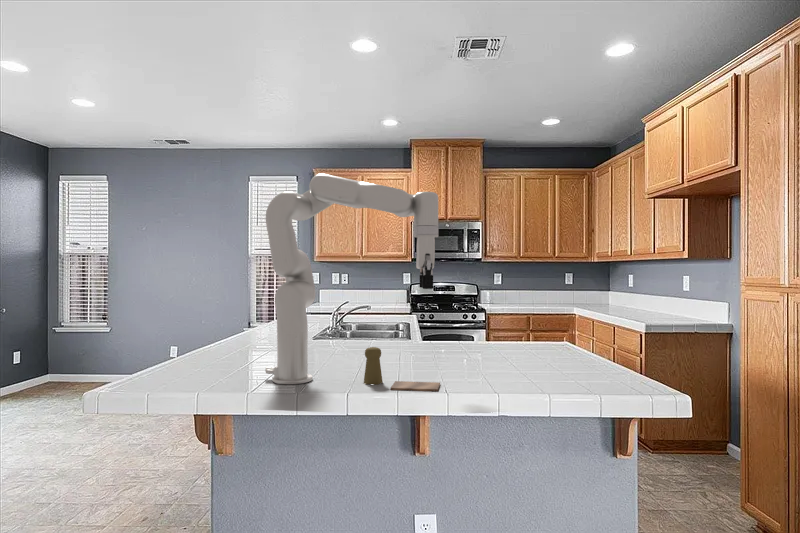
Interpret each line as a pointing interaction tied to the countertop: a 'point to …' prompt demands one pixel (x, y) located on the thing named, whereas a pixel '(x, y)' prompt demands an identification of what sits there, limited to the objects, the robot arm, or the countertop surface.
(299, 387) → the countertop surface
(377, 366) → the cork
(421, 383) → the walnut board
